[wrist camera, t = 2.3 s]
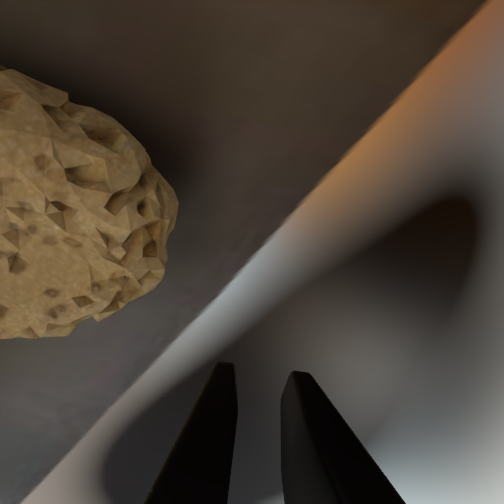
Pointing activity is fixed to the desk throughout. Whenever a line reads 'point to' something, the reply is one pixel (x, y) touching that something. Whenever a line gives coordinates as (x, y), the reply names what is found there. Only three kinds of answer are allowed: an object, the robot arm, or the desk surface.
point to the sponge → (73, 212)
